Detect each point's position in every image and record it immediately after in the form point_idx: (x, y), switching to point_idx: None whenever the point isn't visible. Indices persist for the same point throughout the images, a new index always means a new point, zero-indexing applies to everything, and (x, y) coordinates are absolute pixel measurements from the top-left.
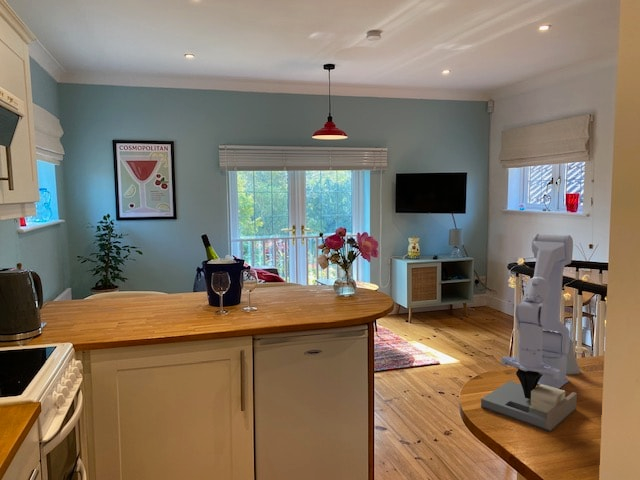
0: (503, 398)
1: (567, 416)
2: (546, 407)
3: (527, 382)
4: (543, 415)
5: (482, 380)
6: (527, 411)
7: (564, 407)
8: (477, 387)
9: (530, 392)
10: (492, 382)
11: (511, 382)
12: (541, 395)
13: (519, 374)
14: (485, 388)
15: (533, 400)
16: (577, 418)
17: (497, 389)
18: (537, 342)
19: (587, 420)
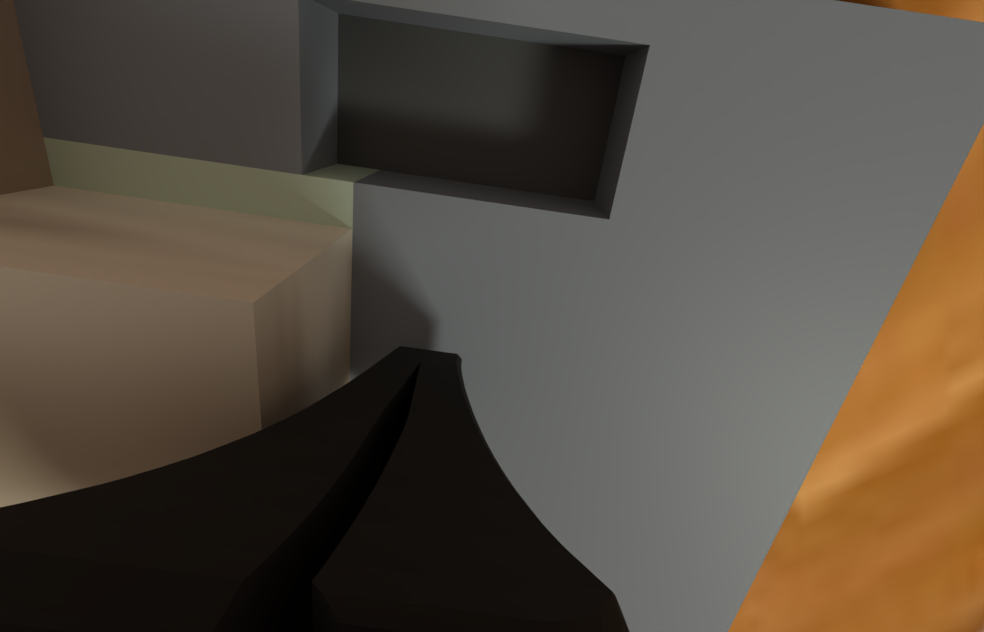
0: (703, 241)
1: None
2: (122, 211)
3: (327, 472)
4: (113, 46)
5: (934, 613)
6: (388, 175)
7: None
8: (976, 485)
9: (352, 381)
10: (844, 615)
11: (695, 630)
12: (64, 264)
13: (490, 612)
14: (896, 500)
15: (281, 246)
16: None
17: (811, 436)
18: None
19: None
